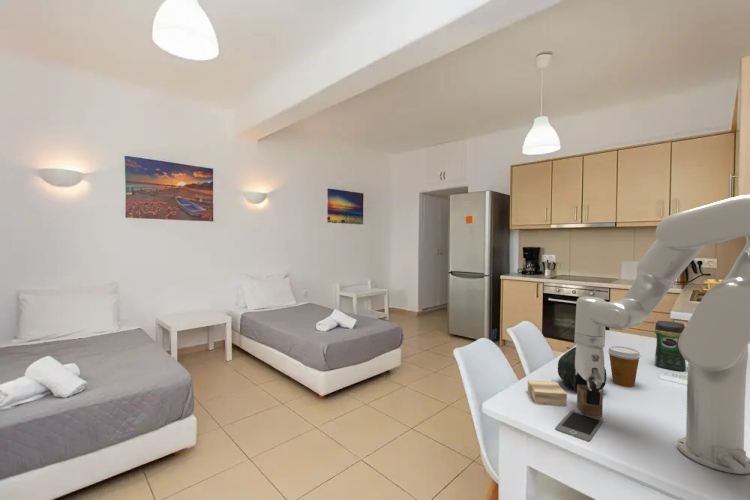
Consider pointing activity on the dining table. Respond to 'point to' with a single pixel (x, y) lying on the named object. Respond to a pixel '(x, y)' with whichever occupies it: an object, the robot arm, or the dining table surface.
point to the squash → (571, 369)
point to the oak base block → (547, 393)
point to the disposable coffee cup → (624, 365)
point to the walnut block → (588, 408)
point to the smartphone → (579, 425)
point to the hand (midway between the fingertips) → (586, 396)
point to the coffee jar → (669, 345)
